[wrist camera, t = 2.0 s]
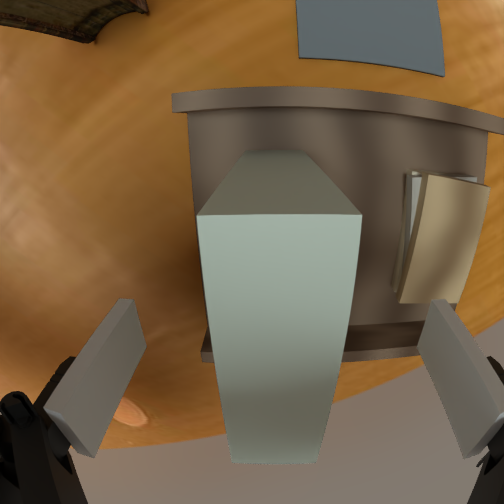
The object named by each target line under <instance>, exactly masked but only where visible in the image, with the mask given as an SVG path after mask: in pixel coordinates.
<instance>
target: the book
mask: <svg viewBox="0 0 504 504" xmlns="http://www.w3.org/2000/svg"><path fill="white" fill-rule="evenodd" d="M133 11H137V12H139V13H141V14H144V13H146V12H148V6H147V3H146V0H0V25H2V26H8V27H14V28H20V29H25V30H30V31H35V32H40V33H44V34H49V35H53V36H57V37H61V38H65V39H69V40H73V41H77V42H81V43H91V42H92V41H94V40H95V37H96V35H97V33H98V32H99V30H100V29H101V28H102V27H103V26H104V25H105V24H106V23H107V22H108V21H110V20H111V19H113V18H115V17H117V16H119V15H121V14H124V13H128V12H133Z"/></svg>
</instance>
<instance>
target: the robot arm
mask: <svg viewBox="0 0 504 504" xmlns="http://www.w3.org/2000/svg"><path fill="white" fill-rule="evenodd" d="M146 347H147V345H146V342H145V339H144V335H143V332H142V328H141V324H140V321H139V317H138V313H137V309H136V306H135V302H134V299H120V298H119V299H118V301H117V302H116V303H115V305H114V306H113V307H112V309H111V310H110V311H109V313H108V314H107V315H106V317H105V318H104V319H103V321H102V322H101V323H100V325H99V326H98V328H97V329H96V330H95V332H94V333H93V334H92V336H91V337H90V339H89V340H88V341H87V343H86V344H85V346H84V347H83V349H82V350H81V351H80V353H79V354H78V356H77V357H72V356H70V357H69V358H68V359H66V360H65V361H64V362H62V363H61V364H60V366H59V367H58V369H57V370H56V372H55V374H53V376H52V377H51V379H50V382H48V383H47V385H46V386H45V388H44V389H43V390H42V392H41V393H40V395H39V396H38V398H37V399H36V401H35V403H34V404H32V403H31V401H30V400H29V398H28V397H27V395H25V394H24V393H23V392H20V391H14V392H11V393H8V394H7V395H5V396H4V397H3V398H2V400H1V401H0V412H1V414H2V415H0V504H88V502H87V500H86V497H85V495H84V492H83V489H82V486H81V484H80V481H79V478H78V476H77V473H76V470H75V467H74V464H73V461H72V458H71V455H70V453H69V451H68V449H69V447H70V445H72V447H73V448H74V449H75V450H76V451H77V453H80V454H83V455H86V456H89V457H92V458H95V455H96V453H97V451H98V449H99V446H100V444H101V442H102V440H103V437H104V435H105V433H106V431H107V429H108V426H109V424H110V422H111V420H112V418H113V416H114V413H115V411H116V409H117V407H118V405H119V403H120V401H121V398H122V396H123V394H124V392H125V390H126V388H127V386H128V384H129V382H130V380H131V378H132V376H133V374H134V372H135V369H136V367H137V365H138V363H139V361H140V359H141V357H142V355H143V353H144V351H145V349H146ZM417 349H418V351H419V353H420V355H421V357H422V359H423V361H424V364H425V366H426V368H427V370H428V372H429V374H430V377H431V379H432V381H433V383H434V385H435V388H436V390H437V392H438V395H439V397H440V399H441V401H442V404H443V406H444V409H445V411H446V414H447V416H448V419H449V421H450V424H451V426H452V429H453V431H454V434H455V437H456V439H457V442H458V444H459V447H460V450H461V453H462V456H463V458H464V459H465V458H469V457H471V456H474V455H477V454H479V453H480V452H481V451H482V450H483V449H484V448H485V447H486V446H488V448H489V452H488V453H487V454H486V455H485V456H484V457H483V458H482V460H480V461H479V462H478V464H477V466H476V467H479V466H480V465H481V464H482V463H483V465H482V468H481V471H480V474H479V476H478V479H477V482H476V484H475V486H474V489H473V491H472V493H471V496H470V498H469V500H468V503H467V504H504V370H503V368H502V366H501V365H500V364H499V363H498V362H497V361H496V360H495V359H493V358H492V357H491V356H489V357H486V356H485V355H484V353H483V352H482V350H481V349H480V348H479V346H478V344H477V343H476V341H475V340H474V338H473V337H472V335H471V334H470V332H469V331H468V329H467V328H466V327H465V325H464V324H463V322H462V321H461V320H460V318H459V317H458V315H457V314H456V313H455V311H454V310H453V309H452V307H451V306H450V305H449V303H448V302H447V301H446V299H436V300H431V304H430V307H429V311H428V314H427V317H426V321H425V324H424V327H423V330H422V333H421V336H420V339H419V342H418V345H417Z"/></svg>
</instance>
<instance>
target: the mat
mask: <svg viewBox="0 0 504 504" xmlns="http://www.w3.org/2000/svg"><path fill="white" fill-rule="evenodd" d="M296 13H297V30H298V50H299V58H306V59H326V60H340V61H351V62H360V63H369V64H376V65H384V66H390V67H396V68H402V69H408V70H413V71H418V72H423V73H428V74H432V75H436V76H441V77H445V68H444V54H443V43H442V33H441V25H440V18H439V11H438V5H437V0H296Z"/></svg>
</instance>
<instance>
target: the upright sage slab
mask: <svg viewBox="0 0 504 504" xmlns="http://www.w3.org/2000/svg"><path fill="white" fill-rule="evenodd" d="M361 223H362V214H361V213H360V212H359V210H358V209H357V208H356V207H355V206H354V205H353V204H352V202H351V201H350V200H349V199H348V198H347V197H346V196H345V195H344V193H343V192H342V191H341V190H340V189H339V188H338V187H337V186H336V185H335V184H334V182H333V181H332V180H331V179H330V178H329V177H328V176H327V175H326V174H325V173H324V172H323V171H322V170H321V168H320V167H319V166H318V165H317V164H316V163H315V162H314V161H313V160H312V159H311V158H310V157H309V156H308V155H307V154H306V153H305V152H304V151H303V150H255V151H245V152H244V153H243V155H242V156H241V157H240V158H239V160H238V161H237V162H236V164H235V165H234V166H233V167H232V169H231V170H230V171H229V173H228V174H227V175H226V177H225V178H224V179H223V181H222V182H221V183H220V185H219V186H218V187H217V189H216V190H215V191H214V193H213V194H212V195H211V197H210V198H209V199H208V201H207V202H206V203H205V205H204V206H203V207H202V209H201V210H200V212H199V213H198V214H197V226H198V236H199V246H200V255H201V264H202V273H203V281H204V290H205V298H206V306H207V313H208V321H209V328H210V335H211V342H212V349H213V356H214V363H215V369H216V376H217V382H218V388H219V394H220V400H221V406H222V412H223V417H224V423H225V429H226V434H227V439H228V445H229V450H230V455H231V459H232V463H247V464H304V463H316V460H317V457H318V454H319V450H320V447H321V443H322V440H323V436H324V433H325V429H326V425H327V421H328V417H329V413H330V409H331V405H332V401H333V397H334V393H335V388H336V384H337V379H338V375H339V370H340V365H341V360H342V355H343V350H344V345H345V340H346V334H347V329H348V323H349V317H350V311H351V305H352V298H353V291H354V284H355V277H356V269H357V261H358V253H359V244H360V234H361Z"/></svg>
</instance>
